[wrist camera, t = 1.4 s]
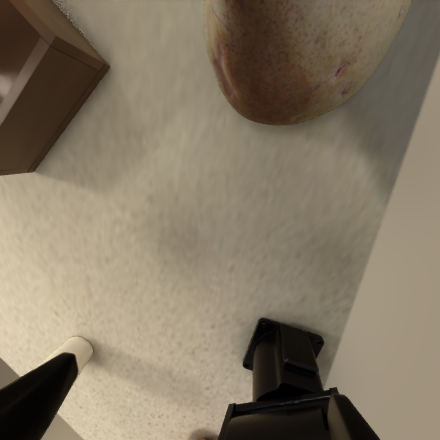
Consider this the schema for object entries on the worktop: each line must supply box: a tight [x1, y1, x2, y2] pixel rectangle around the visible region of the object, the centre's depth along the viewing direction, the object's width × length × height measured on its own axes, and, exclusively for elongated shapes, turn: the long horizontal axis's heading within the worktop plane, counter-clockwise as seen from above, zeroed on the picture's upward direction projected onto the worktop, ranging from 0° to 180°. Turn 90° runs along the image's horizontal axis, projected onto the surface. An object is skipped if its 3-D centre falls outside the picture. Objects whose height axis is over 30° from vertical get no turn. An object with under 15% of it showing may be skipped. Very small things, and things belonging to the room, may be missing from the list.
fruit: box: [204, 0, 412, 125], centre depth 10 cm, size 10×9×12 cm
